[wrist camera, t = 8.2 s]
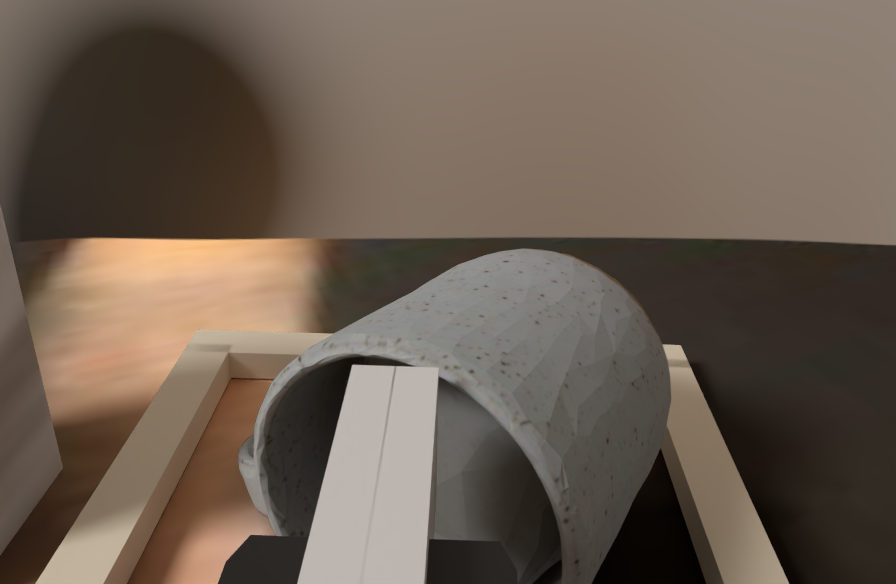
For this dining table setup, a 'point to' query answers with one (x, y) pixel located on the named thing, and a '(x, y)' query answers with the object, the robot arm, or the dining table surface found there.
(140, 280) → the dining table surface
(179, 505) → the dining table surface
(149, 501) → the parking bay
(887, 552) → the dining table surface
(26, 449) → the grey block
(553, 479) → the ceramic mug
